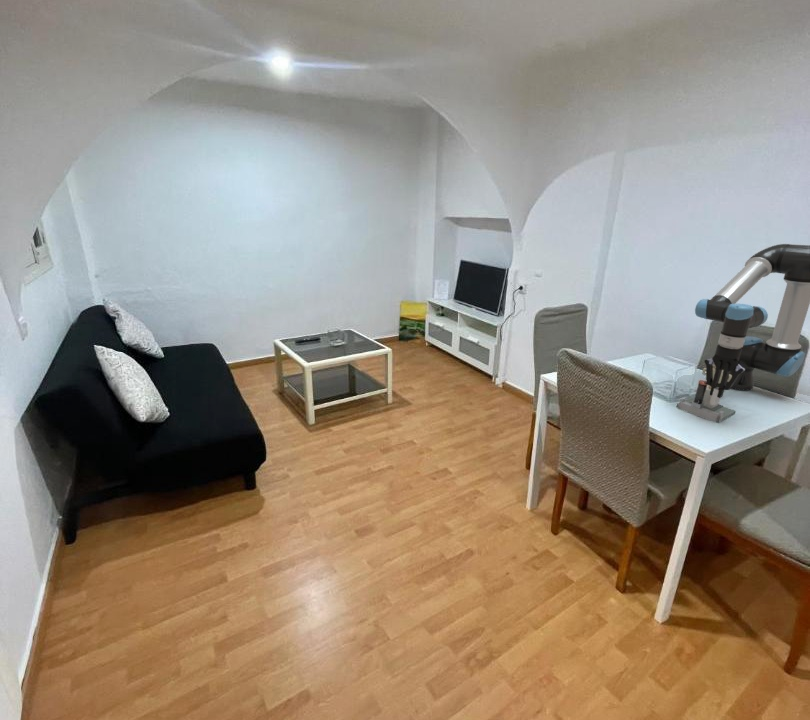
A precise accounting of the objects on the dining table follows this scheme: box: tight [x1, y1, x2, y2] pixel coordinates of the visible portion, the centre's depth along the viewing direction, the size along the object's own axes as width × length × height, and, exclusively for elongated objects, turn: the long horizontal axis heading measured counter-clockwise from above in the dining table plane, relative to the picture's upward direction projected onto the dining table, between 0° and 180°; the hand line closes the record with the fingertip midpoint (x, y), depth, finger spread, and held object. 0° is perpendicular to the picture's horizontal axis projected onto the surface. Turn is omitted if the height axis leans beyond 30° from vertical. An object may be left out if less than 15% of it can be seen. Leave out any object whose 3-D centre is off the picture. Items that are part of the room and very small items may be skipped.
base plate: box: [675, 396, 737, 424], centre depth 174 cm, size 15×16×4 cm
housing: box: [703, 385, 721, 408], centre depth 175 cm, size 6×6×9 cm
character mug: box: [701, 364, 732, 388], centre depth 188 cm, size 11×7×13 cm, turn 36°
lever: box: [691, 379, 707, 409], centre depth 170 cm, size 3×3×11 cm
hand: (713, 403), depth 166 cm, fingers closed
